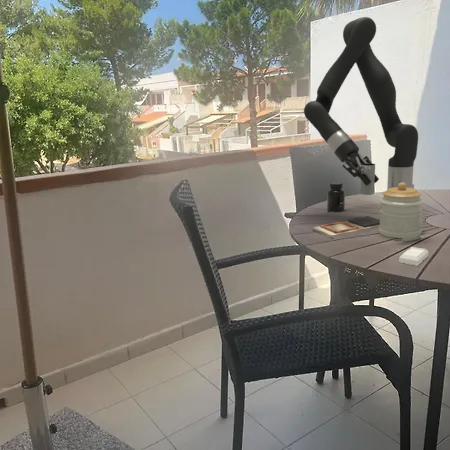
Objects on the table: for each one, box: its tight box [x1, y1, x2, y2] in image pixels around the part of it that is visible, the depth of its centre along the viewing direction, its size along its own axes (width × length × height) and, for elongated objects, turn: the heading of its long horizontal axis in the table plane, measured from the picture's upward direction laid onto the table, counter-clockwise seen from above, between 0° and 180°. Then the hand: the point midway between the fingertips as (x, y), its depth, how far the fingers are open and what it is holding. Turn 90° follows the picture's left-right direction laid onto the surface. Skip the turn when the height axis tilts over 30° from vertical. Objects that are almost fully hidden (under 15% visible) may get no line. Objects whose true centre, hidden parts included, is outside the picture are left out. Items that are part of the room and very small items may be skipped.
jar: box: [378, 182, 424, 242], centre depth 139 cm, size 13×13×18 cm
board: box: [311, 216, 380, 240], centre depth 152 cm, size 26×11×2 cm, turn 113°
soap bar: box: [398, 246, 429, 267], centre depth 121 cm, size 5×9×3 cm, turn 139°
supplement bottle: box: [326, 181, 346, 213], centre depth 173 cm, size 7×7×12 cm
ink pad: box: [347, 215, 380, 228], centre depth 154 cm, size 9×9×1 cm
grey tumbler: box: [360, 162, 376, 196], centre depth 150 cm, size 4×4×10 cm
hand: (372, 182), depth 149 cm, fingers closed on grey tumbler, 4 cm apart
